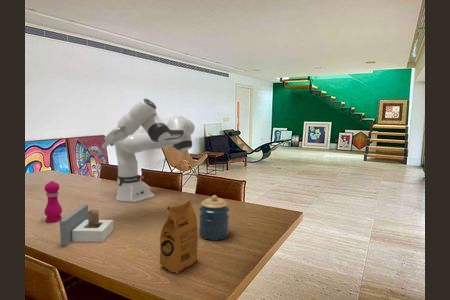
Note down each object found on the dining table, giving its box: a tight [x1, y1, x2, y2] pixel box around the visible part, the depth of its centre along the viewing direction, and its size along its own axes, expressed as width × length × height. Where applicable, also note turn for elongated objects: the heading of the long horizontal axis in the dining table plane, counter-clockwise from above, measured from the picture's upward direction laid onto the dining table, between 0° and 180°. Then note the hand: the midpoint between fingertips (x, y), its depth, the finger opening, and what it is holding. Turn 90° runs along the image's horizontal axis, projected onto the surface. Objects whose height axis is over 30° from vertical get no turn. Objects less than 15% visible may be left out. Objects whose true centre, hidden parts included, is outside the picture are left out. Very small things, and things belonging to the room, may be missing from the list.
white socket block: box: [72, 219, 114, 243], centre depth 122 cm, size 12×12×5 cm
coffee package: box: [159, 198, 199, 273], centre depth 100 cm, size 10×12×22 cm
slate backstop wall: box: [59, 204, 89, 247], centre depth 122 cm, size 2×20×10 cm, turn 2°
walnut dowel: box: [88, 209, 100, 228], centre depth 122 cm, size 4×4×10 cm
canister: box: [198, 194, 230, 241], centre depth 125 cm, size 13×13×18 cm
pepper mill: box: [44, 178, 63, 223], centre depth 137 cm, size 7×7×20 cm
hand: (106, 146), depth 138 cm, fingers open, 8 cm apart
